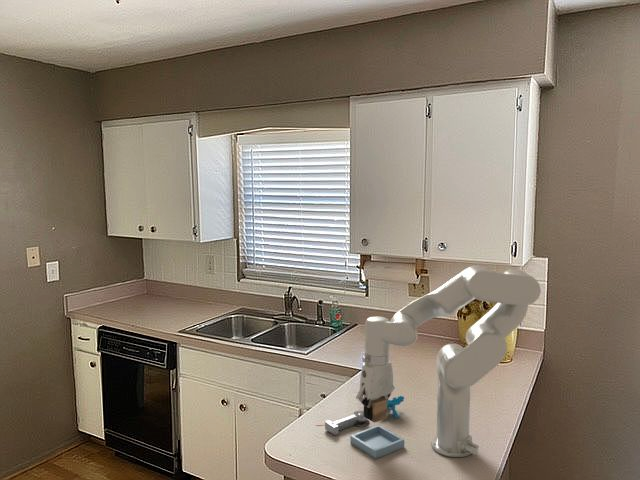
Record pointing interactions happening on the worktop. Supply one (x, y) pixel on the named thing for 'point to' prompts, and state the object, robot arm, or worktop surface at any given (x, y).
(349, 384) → the worktop surface
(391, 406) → the gear
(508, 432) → the worktop surface
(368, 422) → the pivot base
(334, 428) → the lever
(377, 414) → the block
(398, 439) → the tray
